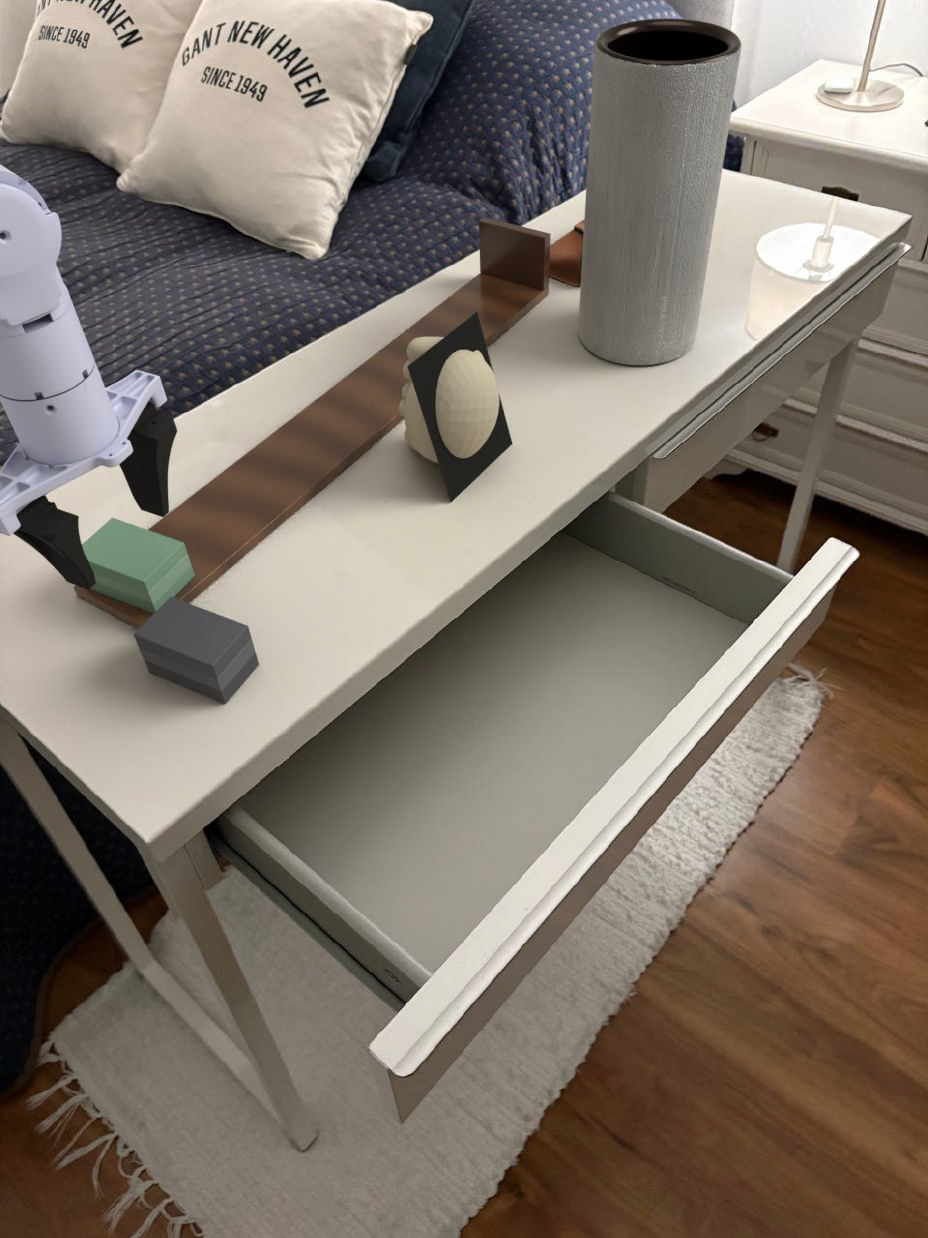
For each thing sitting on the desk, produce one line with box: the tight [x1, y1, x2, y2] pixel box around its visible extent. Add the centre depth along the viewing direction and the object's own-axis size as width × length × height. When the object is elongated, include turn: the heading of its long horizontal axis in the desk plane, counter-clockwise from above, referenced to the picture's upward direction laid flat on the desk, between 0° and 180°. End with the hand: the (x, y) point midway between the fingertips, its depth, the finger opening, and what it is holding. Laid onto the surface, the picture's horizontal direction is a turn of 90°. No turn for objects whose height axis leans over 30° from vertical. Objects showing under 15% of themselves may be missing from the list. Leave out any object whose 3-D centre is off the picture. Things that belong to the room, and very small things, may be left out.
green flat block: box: [90, 554, 195, 614], centre depth 76 cm, size 5×7×2 cm, turn 63°
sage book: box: [82, 517, 187, 593], centre depth 74 cm, size 5×7×1 cm, turn 63°
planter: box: [578, 18, 742, 366], centre depth 91 cm, size 12×12×28 cm
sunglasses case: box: [549, 219, 584, 288], centre depth 114 cm, size 18×7×7 cm, turn 143°
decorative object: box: [399, 312, 513, 503], centre depth 84 cm, size 13×10×10 cm
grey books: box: [133, 597, 260, 705], centre depth 70 cm, size 4×7×4 cm, turn 63°
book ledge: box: [73, 216, 551, 630], centre depth 90 cm, size 61×8×7 cm, turn 147°
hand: (119, 545), depth 65 cm, fingers open, 7 cm apart
